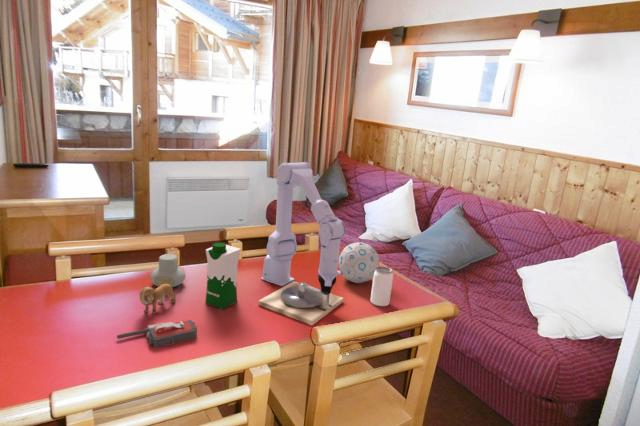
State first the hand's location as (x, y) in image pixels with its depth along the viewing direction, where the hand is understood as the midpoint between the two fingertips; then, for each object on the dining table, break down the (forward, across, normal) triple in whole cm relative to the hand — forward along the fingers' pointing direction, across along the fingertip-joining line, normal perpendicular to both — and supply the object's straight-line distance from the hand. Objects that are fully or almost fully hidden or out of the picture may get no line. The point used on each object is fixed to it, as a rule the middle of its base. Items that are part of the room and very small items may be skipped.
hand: (325, 297), depth 143 cm
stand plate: (+4, +2, +7) cm, 9 cm away
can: (+4, +7, -19) cm, 21 cm away
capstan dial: (+2, +1, +6) cm, 7 cm away
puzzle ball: (+4, +24, -13) cm, 28 cm away
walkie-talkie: (+4, -24, +44) cm, 51 cm away
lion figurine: (+4, -8, +50) cm, 51 cm away
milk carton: (+4, -1, +33) cm, 33 cm away
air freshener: (+4, +8, +52) cm, 53 cm away
